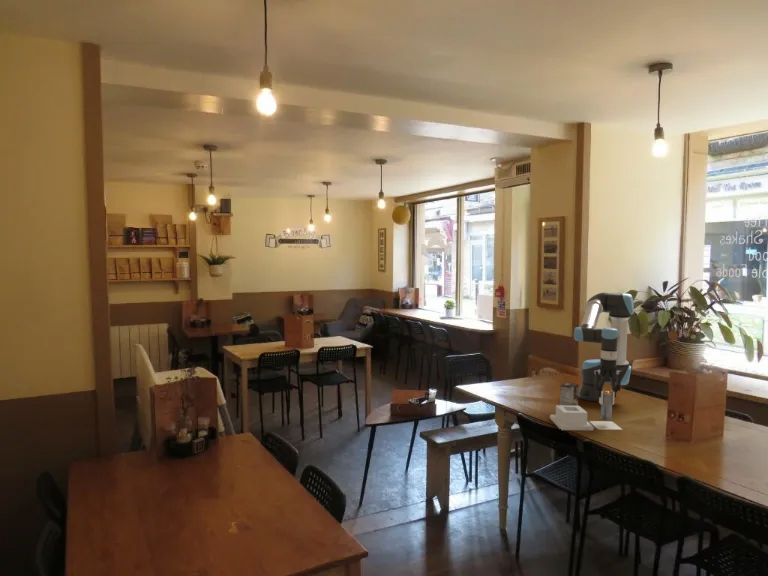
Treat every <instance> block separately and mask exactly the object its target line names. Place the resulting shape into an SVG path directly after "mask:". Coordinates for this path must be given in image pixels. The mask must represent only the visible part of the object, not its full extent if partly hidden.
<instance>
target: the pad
mask: <svg viewBox="0 0 768 576" xmlns="http://www.w3.org/2000/svg"><path fill="white" fill-rule="evenodd" d="M588 422H589V423H590V424H591V425H592V426H593V427H594V428H596V429H597V430H599V431H623V428H622V427H620V426H619V425H618V424H616V423H615V422H614V421H611V420H603V421H601V420H600V421H599V420H597V421H596V420H589V421H588Z"/></svg>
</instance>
